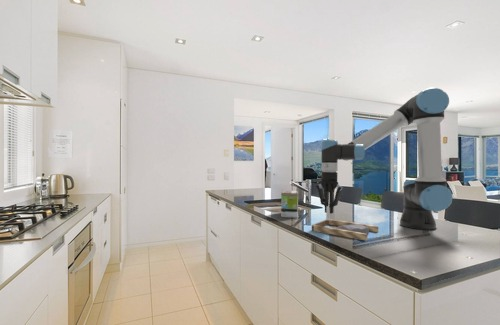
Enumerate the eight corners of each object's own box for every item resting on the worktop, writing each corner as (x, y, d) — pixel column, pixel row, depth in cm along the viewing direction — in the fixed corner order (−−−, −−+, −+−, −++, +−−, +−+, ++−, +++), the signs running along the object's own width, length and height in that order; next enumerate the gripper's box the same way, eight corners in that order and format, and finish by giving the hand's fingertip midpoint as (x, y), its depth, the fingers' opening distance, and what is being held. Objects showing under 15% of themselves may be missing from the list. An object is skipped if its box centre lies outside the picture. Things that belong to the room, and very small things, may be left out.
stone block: (335, 236, 115) (351, 237, 107) (333, 225, 116) (350, 225, 108) (354, 234, 120) (371, 235, 111) (352, 223, 121) (369, 224, 112)
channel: (378, 231, 115) (378, 226, 115) (366, 240, 102) (366, 234, 102) (328, 223, 132) (327, 218, 132) (311, 230, 118) (311, 225, 118)
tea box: (297, 218, 146) (297, 192, 146) (280, 217, 148) (280, 192, 148) (298, 213, 161) (298, 190, 161) (282, 212, 163) (282, 190, 163)
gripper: (313, 171, 123) (313, 218, 123) (339, 172, 115) (339, 223, 115) (320, 171, 129) (320, 216, 129) (345, 171, 120) (345, 220, 120)
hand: (329, 219), depth 122 cm, fingers closed
